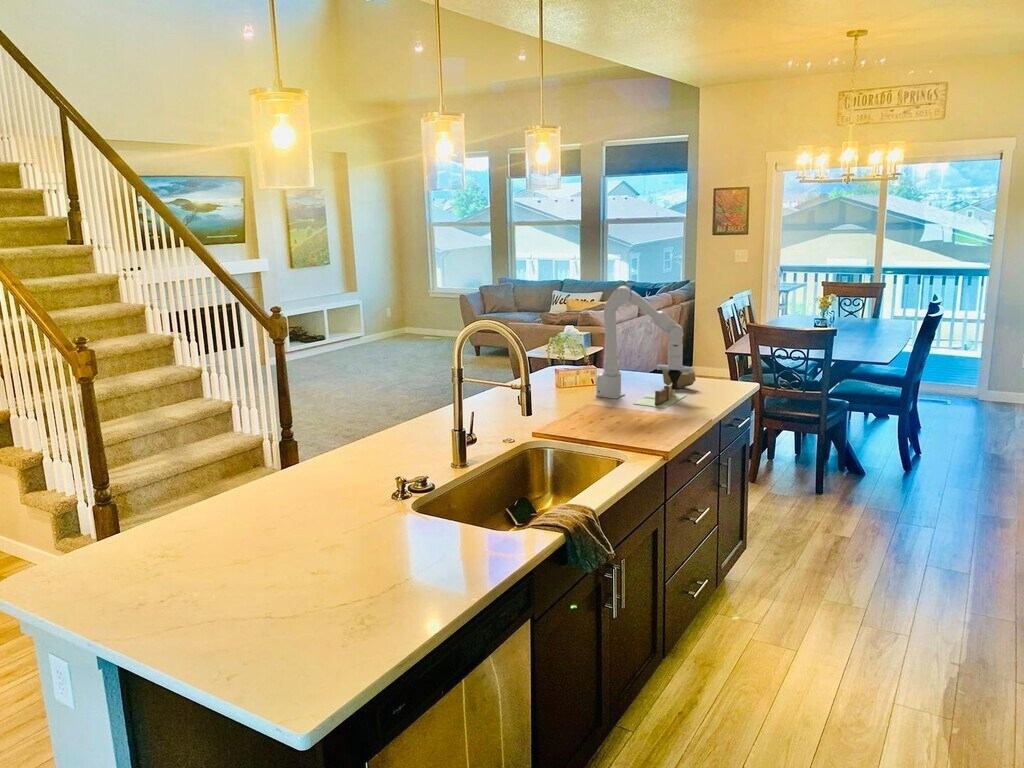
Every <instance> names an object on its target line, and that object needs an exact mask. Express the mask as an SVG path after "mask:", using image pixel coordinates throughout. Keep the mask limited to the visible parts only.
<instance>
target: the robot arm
mask: <svg viewBox="0 0 1024 768" xmlns="http://www.w3.org/2000/svg"><path fill="white" fill-rule="evenodd" d="M627 303H628V305H631V306H632V305H634V306H637V307H638V308H639V309H641V310H642V311H643V312H644V313H646V314H647V315H648V316H649V317H651V319H652V320H651V321H652V323H653V324H654V325H655V326H656V327H657V328H658V329H659V330H661V331H662V332H663V333H665V334H667V336H668V343H667V364H659V363H658V364H657V365H656V370H657V371H663V370H668V371H669V372H668V375H669V377H670V379H671V381H672V389H673V390H675V389H676V390H678V388H677V382H678V379H679V377H680V375H681V373H682V372H689V373H693V371H694V367H692V366H687V365H683V360H684V359H683V358H684V357H683V355H684V354H683V351H684V350H683V349H684V344H683V342H684V341H683V337H684V335H685V334H684V329H683V327H682V326H681V325H680V324H679V323H678V322H677V321H676V320H674V319H672V318H671V317H670V316H669V313H667V312H666V311H663V310H660V311H658V310H656V309H655V307H654V306H652V305H651V304H650V303H649V302H648V301H647V300H646V299H644V297H642V296H641V295H640V294H639V293H637V292H636V291H634V290H633V289H631V288H630V287H629V286H627V285H620V286H618V287H617V288H616V289H614V290H613V292H612V293H611V295H610V296H609V297H608V299H607V300H606V303H605V304H604V306H603V322H604V339H605V340H604V341H605V361H604V364H603V372H602V373H601V372H600V373H598V374H597V377H596V381H595V382H596V383H595V384H596V385H595V386H596V387H595V388H596V391H595V393H596V394H595V397H600V398H609V399H619V398H621V397H624V396H625V394H626V393H623V392H622V372H621V371H620V369H621V368H620V367H621V363H622V362H621V359H620V358H619V353H618V341H617V340H618V338H617V337H618V335H617V334H618V332H617V313H616V312H617V311H618V310H619V308H620V307H621V306H624V305H625V304H627Z"/></svg>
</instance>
